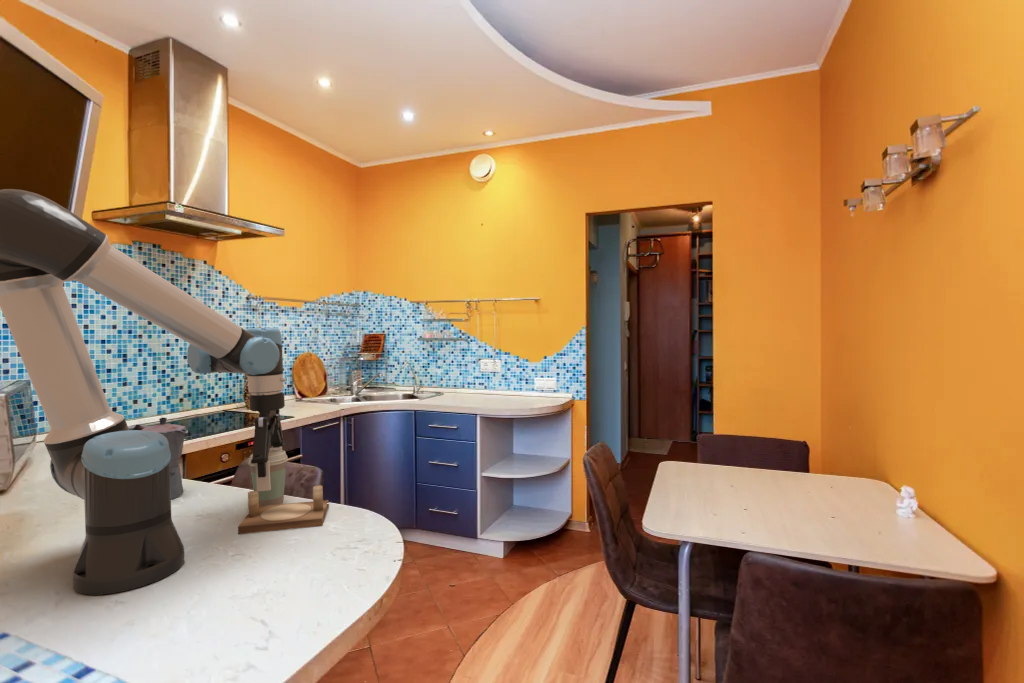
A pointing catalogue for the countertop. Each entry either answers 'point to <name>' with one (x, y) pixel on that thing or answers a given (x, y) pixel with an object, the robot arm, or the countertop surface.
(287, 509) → the rest board
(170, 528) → the robot arm
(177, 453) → the moka pot
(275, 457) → the coffee cup
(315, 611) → the countertop surface
